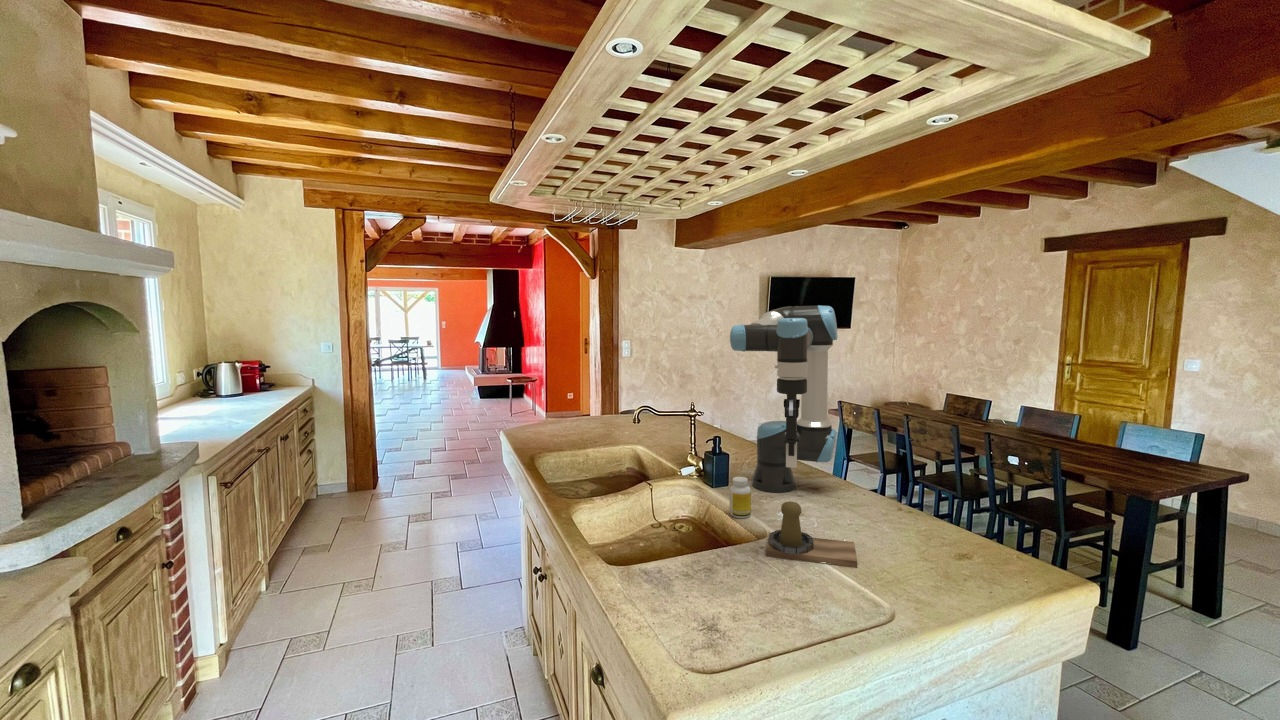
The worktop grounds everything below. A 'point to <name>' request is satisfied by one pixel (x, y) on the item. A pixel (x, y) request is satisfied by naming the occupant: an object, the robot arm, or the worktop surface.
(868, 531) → the worktop surface
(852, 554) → the walnut board
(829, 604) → the worktop surface
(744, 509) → the pill bottle
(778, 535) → the ring holder
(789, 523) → the cork
